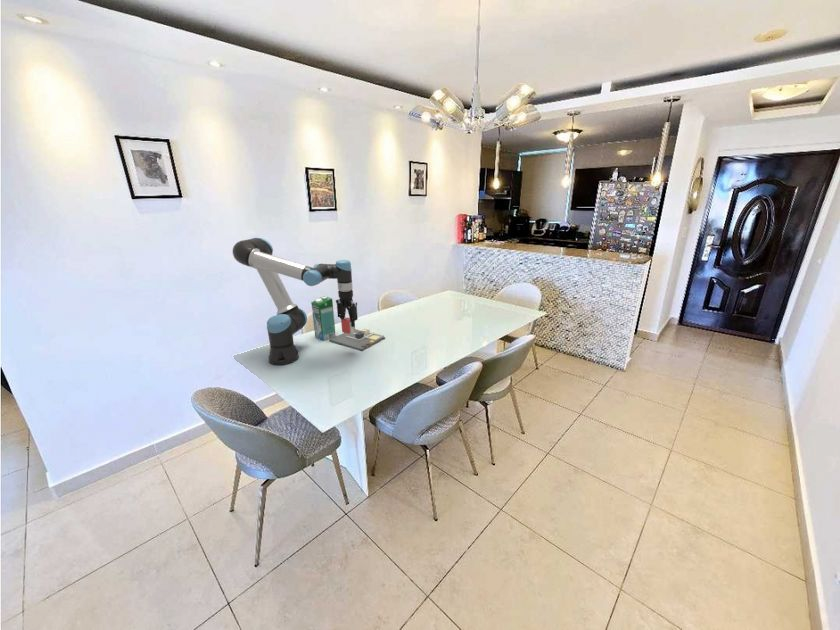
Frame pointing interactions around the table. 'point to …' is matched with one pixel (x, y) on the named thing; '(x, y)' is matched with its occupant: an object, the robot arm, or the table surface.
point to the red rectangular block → (346, 325)
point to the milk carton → (323, 318)
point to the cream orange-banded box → (366, 332)
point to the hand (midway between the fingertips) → (348, 330)
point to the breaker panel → (357, 340)
